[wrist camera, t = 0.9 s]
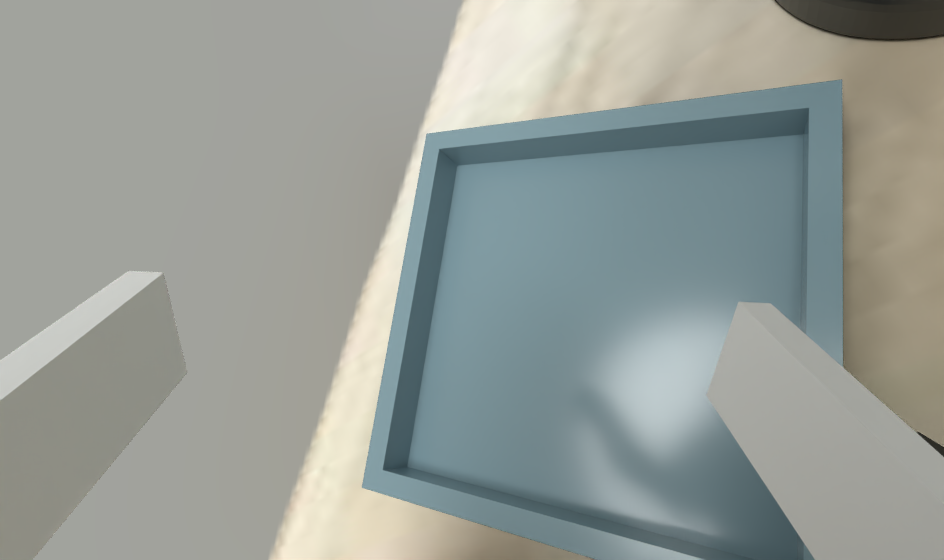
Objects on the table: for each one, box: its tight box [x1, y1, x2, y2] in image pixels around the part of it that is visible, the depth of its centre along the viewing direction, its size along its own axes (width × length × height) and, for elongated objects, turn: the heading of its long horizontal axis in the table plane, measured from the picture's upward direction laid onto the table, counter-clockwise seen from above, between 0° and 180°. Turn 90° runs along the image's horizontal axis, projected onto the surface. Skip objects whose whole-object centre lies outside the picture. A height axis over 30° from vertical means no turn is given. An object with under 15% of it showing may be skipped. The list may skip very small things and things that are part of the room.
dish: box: [362, 80, 843, 560], centre depth 26 cm, size 22×22×3 cm
